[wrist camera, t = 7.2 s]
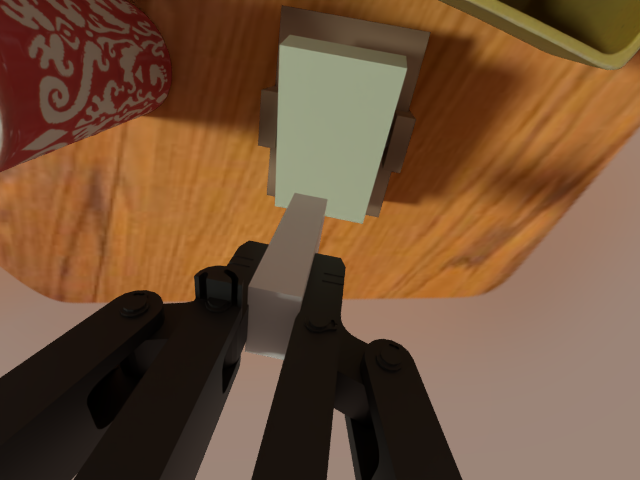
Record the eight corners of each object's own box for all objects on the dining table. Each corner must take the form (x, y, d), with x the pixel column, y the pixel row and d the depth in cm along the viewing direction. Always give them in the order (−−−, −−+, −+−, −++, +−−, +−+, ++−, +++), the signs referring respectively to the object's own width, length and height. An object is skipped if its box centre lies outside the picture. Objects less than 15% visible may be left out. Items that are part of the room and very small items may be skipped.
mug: (211, 53, 22) (26, 51, 10) (153, 152, 26) (-25, 233, 14) (28, -116, 18) (-546, -403, 7) (-5, 27, 23) (-400, -2, 11)
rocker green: (289, 34, 15) (279, 44, 14) (406, 55, 15) (407, 68, 14) (282, 188, 22) (274, 205, 20) (364, 205, 22) (362, 223, 20)
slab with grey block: (289, 11, 20) (266, -2, 15) (425, 35, 20) (442, 30, 15) (274, 180, 25) (254, 206, 21) (379, 201, 25) (382, 232, 21)
